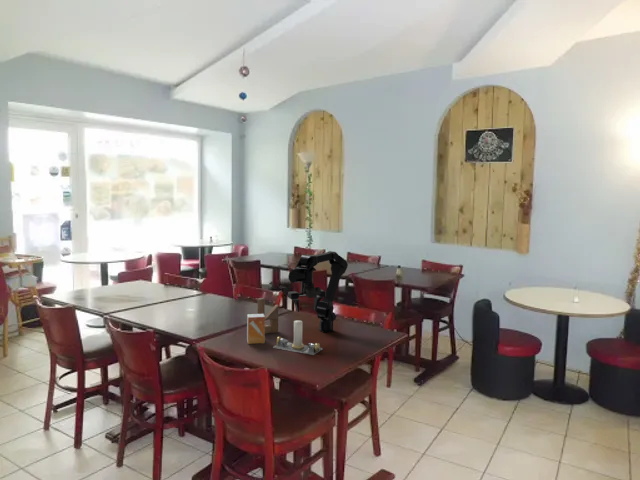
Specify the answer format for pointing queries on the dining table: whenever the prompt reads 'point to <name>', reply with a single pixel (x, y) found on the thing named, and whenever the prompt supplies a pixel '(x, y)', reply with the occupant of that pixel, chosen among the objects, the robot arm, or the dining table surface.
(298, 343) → the grey upright cylinder
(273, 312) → the wooden block
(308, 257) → the robot arm
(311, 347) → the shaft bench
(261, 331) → the small box
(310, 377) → the dining table surface
